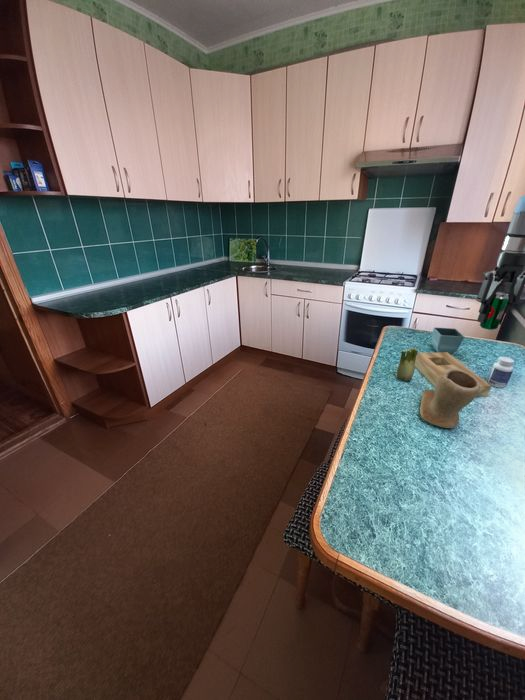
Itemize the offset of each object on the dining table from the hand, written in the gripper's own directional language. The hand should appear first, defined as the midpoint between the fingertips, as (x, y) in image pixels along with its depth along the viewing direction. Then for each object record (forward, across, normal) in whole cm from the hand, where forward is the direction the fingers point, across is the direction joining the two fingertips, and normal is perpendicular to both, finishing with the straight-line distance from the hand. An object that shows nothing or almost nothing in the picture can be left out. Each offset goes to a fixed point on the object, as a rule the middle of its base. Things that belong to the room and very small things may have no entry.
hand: (489, 322), depth 100 cm
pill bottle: (+19, -2, +10) cm, 22 cm away
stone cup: (+20, +25, +25) cm, 41 cm away
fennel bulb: (+20, +28, +5) cm, 34 cm away
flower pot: (+20, +2, -15) cm, 25 cm away
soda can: (+2, 0, 0) cm, 2 cm away
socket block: (+19, +13, +5) cm, 24 cm away
